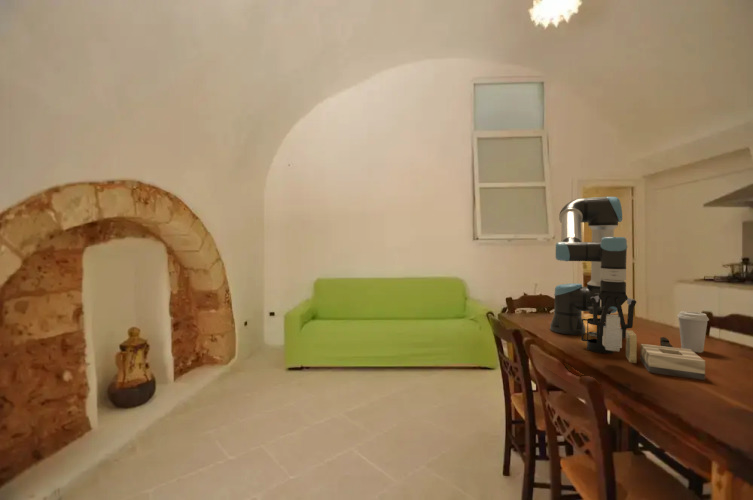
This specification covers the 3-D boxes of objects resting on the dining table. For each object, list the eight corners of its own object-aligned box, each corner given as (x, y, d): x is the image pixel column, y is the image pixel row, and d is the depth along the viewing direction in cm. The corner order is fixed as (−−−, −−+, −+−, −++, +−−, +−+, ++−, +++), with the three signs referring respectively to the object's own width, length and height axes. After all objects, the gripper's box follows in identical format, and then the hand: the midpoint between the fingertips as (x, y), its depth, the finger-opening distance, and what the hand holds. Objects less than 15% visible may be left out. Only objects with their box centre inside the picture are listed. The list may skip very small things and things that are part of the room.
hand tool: (680, 361, 127) (680, 348, 127) (666, 359, 129) (666, 346, 129) (670, 348, 143) (671, 337, 143) (658, 346, 145) (658, 335, 145)
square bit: (604, 346, 125) (605, 313, 125) (617, 348, 123) (618, 315, 123) (605, 349, 122) (606, 316, 121) (619, 351, 120) (620, 317, 119)
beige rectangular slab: (625, 356, 132) (626, 330, 132) (632, 356, 131) (632, 330, 131) (629, 362, 125) (629, 334, 124) (636, 363, 124) (636, 335, 124)
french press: (616, 349, 140) (617, 293, 139) (615, 355, 132) (616, 295, 132) (582, 344, 147) (583, 290, 146) (580, 349, 139) (581, 293, 139)
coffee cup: (715, 353, 134) (716, 315, 134) (690, 353, 135) (691, 315, 134) (693, 346, 144) (694, 310, 144) (670, 346, 144) (670, 310, 144)
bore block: (640, 359, 127) (640, 343, 127) (690, 366, 121) (690, 349, 120) (649, 372, 115) (649, 354, 115) (704, 380, 108) (705, 361, 108)
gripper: (585, 280, 122) (584, 345, 123) (645, 283, 114) (644, 352, 115) (584, 278, 129) (583, 339, 130) (640, 280, 121) (639, 346, 122)
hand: (611, 345), depth 122 cm, fingers closed on square bit, 4 cm apart
